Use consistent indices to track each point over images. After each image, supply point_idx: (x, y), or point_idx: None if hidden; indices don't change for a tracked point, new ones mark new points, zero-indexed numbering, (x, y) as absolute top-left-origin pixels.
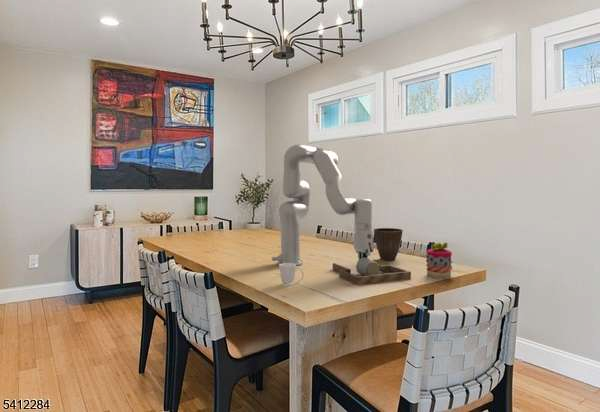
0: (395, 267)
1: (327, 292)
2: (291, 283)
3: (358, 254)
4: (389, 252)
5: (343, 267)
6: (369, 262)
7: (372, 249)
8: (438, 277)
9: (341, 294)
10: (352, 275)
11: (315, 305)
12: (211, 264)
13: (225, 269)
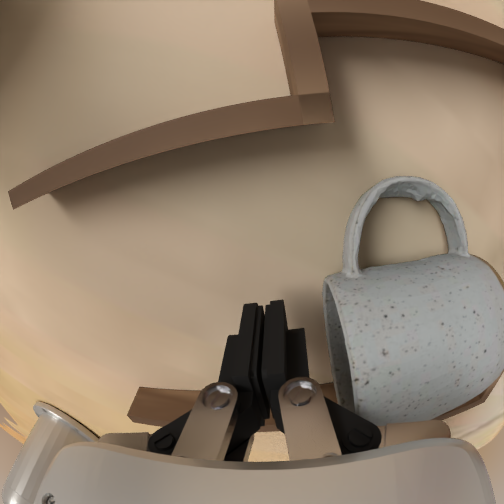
0: (423, 16)
1: (455, 436)
2: None
3: (224, 458)
4: None
5: (265, 431)
6: (483, 390)
7: (478, 478)
8: None
9: (488, 413)
10: (449, 416)
11: (487, 438)
12: None
13: None
